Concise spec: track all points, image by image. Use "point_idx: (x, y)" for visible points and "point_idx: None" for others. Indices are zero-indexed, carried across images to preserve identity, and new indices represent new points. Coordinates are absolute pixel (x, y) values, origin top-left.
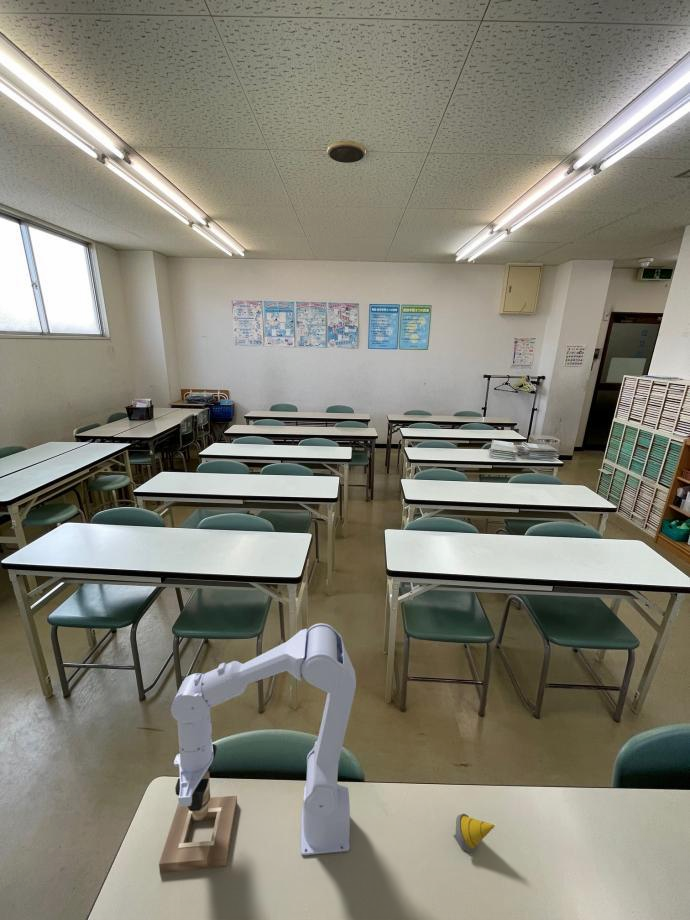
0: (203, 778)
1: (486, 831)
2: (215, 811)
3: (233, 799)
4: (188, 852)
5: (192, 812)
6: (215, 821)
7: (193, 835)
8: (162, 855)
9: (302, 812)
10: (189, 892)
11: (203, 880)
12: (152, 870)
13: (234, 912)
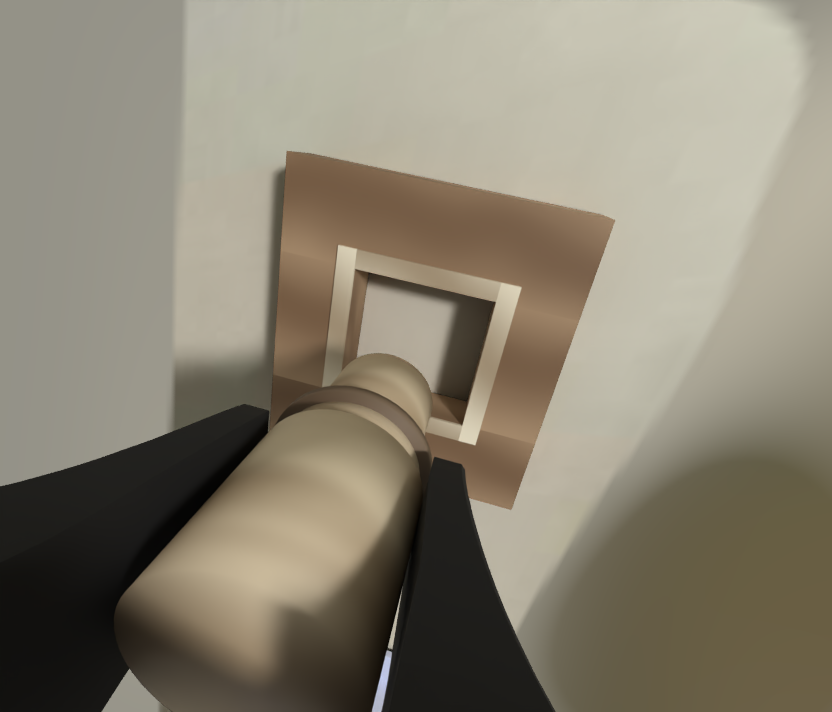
0: (224, 708)
1: None
2: (464, 418)
3: (496, 495)
4: (313, 296)
5: (350, 370)
6: None
7: (430, 297)
8: (320, 163)
9: (389, 660)
10: (228, 293)
11: (258, 342)
12: (325, 113)
13: (170, 431)
